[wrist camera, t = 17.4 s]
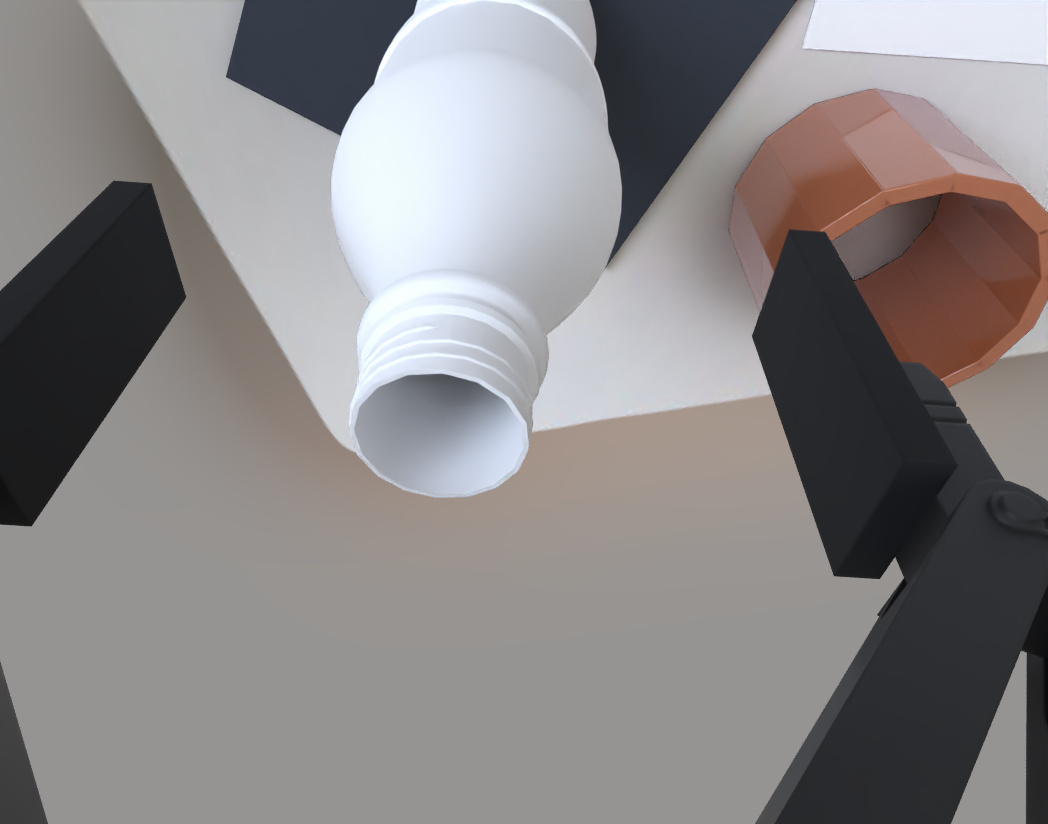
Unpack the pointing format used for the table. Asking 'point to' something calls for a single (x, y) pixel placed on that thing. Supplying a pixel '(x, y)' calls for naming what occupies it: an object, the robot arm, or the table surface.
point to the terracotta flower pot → (940, 250)
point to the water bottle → (471, 231)
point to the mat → (621, 62)
